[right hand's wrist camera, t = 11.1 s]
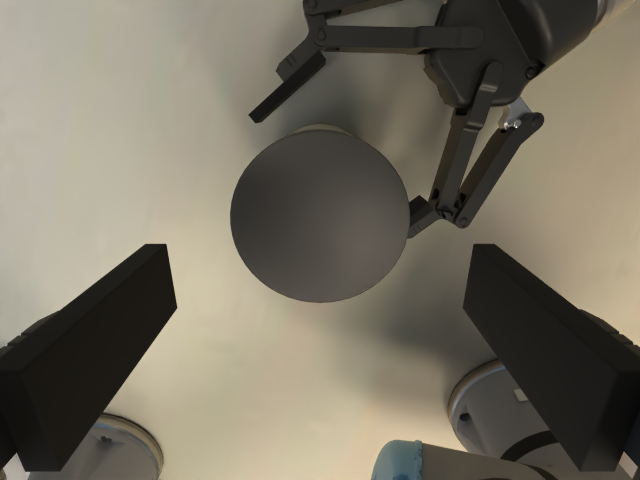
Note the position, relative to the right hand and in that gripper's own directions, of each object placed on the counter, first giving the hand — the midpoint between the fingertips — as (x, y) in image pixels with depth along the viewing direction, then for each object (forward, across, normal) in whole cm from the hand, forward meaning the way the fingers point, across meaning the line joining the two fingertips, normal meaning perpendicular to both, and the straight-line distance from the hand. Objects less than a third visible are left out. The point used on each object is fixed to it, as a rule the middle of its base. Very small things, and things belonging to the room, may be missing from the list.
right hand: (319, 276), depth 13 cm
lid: (+6, 0, 0) cm, 6 cm away
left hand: (+16, -1, 0) cm, 16 cm away
